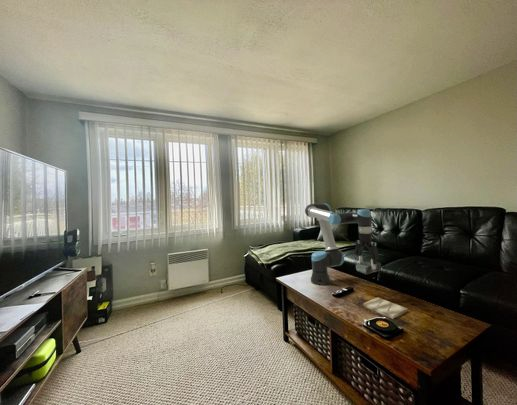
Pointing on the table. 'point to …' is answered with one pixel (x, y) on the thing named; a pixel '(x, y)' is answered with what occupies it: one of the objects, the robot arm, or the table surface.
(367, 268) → the stone block
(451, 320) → the table surface
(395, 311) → the board
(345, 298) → the table surface
